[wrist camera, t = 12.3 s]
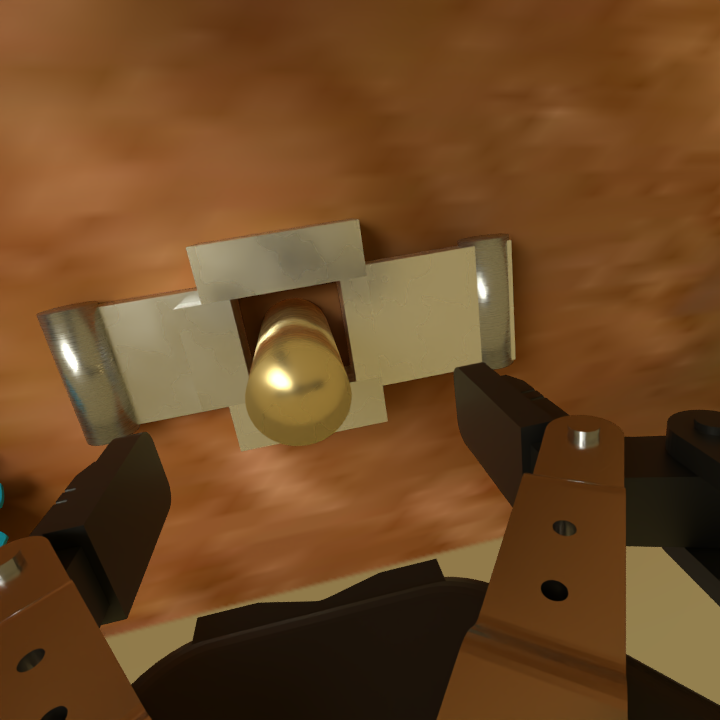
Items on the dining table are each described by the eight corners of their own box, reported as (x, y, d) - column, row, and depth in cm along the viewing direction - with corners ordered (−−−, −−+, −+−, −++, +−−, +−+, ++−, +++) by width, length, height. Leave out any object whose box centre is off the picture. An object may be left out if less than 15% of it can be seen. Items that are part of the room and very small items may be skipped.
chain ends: (38, 269, 21) (3, 277, 18) (491, 196, 23) (517, 193, 20) (110, 456, 24) (89, 485, 21) (500, 378, 26) (523, 396, 23)
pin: (254, 304, 23) (233, 359, 14) (322, 292, 23) (342, 338, 14) (269, 369, 24) (258, 455, 15) (334, 356, 24) (358, 434, 16)
